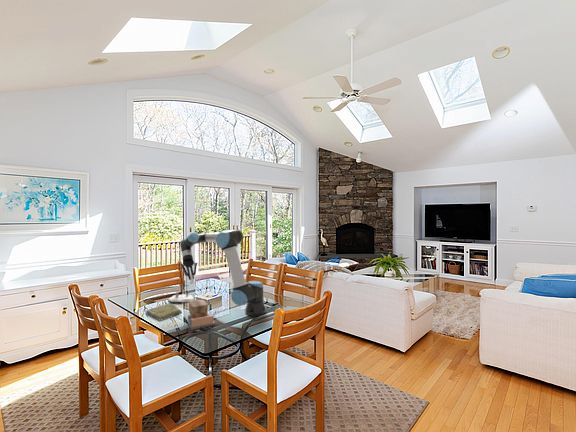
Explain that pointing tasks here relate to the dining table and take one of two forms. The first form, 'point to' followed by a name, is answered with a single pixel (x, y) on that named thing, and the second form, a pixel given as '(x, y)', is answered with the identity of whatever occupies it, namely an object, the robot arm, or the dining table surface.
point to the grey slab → (200, 321)
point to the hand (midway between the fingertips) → (192, 282)
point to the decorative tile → (164, 311)
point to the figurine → (181, 296)
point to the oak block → (197, 309)
